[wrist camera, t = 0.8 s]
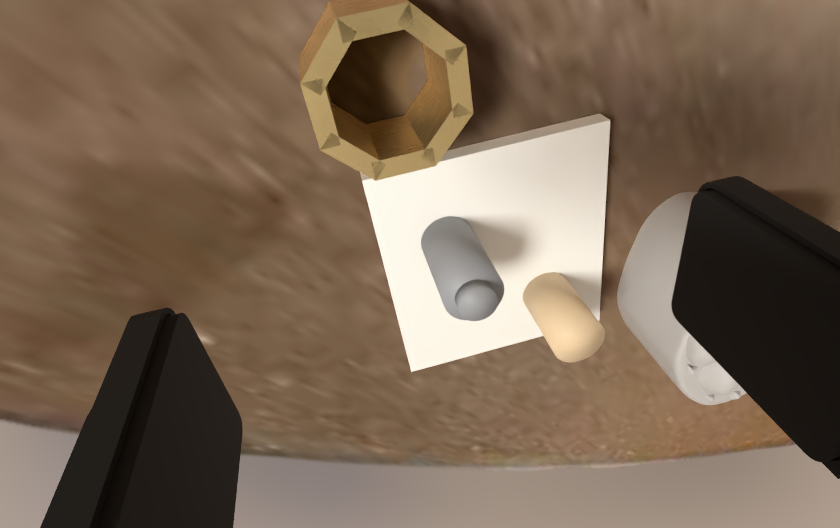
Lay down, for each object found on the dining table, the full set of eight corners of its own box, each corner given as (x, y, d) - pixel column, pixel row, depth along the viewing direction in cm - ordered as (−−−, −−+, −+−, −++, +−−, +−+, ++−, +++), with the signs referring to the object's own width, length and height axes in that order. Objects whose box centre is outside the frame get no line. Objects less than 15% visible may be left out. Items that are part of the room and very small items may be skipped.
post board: (599, 113, 29) (681, 164, 23) (591, 310, 37) (648, 385, 31) (359, 171, 28) (377, 241, 22) (408, 359, 36) (431, 447, 30)
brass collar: (431, -22, 23) (460, -10, 19) (450, 120, 27) (478, 155, 23) (286, 10, 23) (283, 29, 19) (326, 150, 27) (332, 191, 23)
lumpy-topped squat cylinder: (783, 188, 35) (906, 255, 28) (710, 332, 42) (794, 414, 35) (649, 192, 33) (746, 265, 26) (597, 342, 40) (662, 433, 33)
